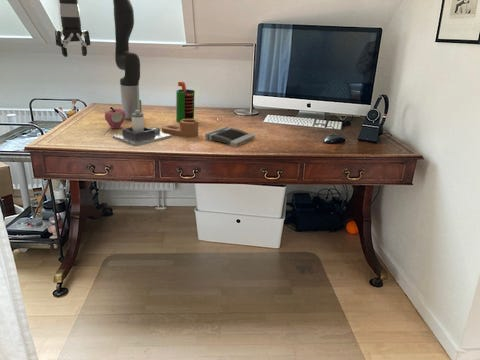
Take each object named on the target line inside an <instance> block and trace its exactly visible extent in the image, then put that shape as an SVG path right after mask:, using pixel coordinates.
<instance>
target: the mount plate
mask: <svg viewBox="0 0 480 360" xmlns="http://www.w3.org/2000/svg"><path fill="white" fill-rule="evenodd" d="M172 136H173V135H170V134H167V133H164V132H162V130H161V129H160V127H158V126H151V127H147V126H144V131H143V132H139V133H135V132H133V131H132V126H130V127H125V128H122V129H121V133H118V134H113V135H112V138H113V139H116V140H118V141H121V142H123V143H126V144H128V145H131V146H134V147H135V146H140V145H144V144H149V143H153V142H157V141H158V142H159V141H162V140H167V139H170V138H172Z"/></svg>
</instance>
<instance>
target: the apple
mask: <svg viewBox="0 0 480 360" xmlns="http://www.w3.org/2000/svg"><path fill="white" fill-rule="evenodd" d="M109 109H110V110H108V111H107V110H106V111H105V112H104V119H105V121H106V122H107V124H108V125H109V127H110V128H111V129H119V128H121V127H122V125H123V123H124V122H125V120H126V119H125V116H126V114H125V111H123V110H122V108H121V109H119V108H118V109H117V108H116V109H114V108H113V106H110V107H109Z"/></svg>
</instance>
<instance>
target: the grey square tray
mask: <svg viewBox="0 0 480 360" xmlns="http://www.w3.org/2000/svg"><path fill="white" fill-rule="evenodd" d="M204 136H205V140H206V141H216V142H220V143H221V142H222V143H224V144H227V145H229V146H230V145H231V146H230V147H234V146H235V147H236V145H237V146H240V144H241V145H243V144H245V143H248V142H250V141H252V140H253V139H255V135H254V134H253V133H248V132H246V131H244V130H241V129H238V128H233V127H229V126H228V125H226V126H223V127H220V128H216V129H213V130H212V131H208V132H206V133H204ZM249 140H250V141H249ZM247 141H248V142H247ZM244 142H245V143H244ZM242 143H243V144H242Z"/></svg>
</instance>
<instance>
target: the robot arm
mask: <svg viewBox="0 0 480 360" xmlns="http://www.w3.org/2000/svg"><path fill="white" fill-rule="evenodd" d="M58 1H59V15H60V21H61V28H62V31H61V30H55V31H54V34H55V35H54V37H55V45H56V46H58V47H60V49H61V54H62V56H63V57H64V58H67V57H68V49H67V45H68V44H69V43H71V42H77V43H79V44H80V46H81V55H82V56H83V57H85V56H87V54H88V49H87V47H88V46H91V39H90V38H91V37H90V31H89V30H82V22H81V15H80V6H79V3H78V2H79V0H58ZM112 3H113V16H114V17H113V20H114V33H115V34H114V35H115V51H114V52H115V56H114V59H115V60H114V61H115V64H116V67H117V68H118V69H119V70H122V71H124V76H123V77H121V78H120V79H119V84H120V85H119V86H120V87H119V88H120V100H121V102H120V103H121V110H123V111H125V114H126V116H125V120H132V113H135V110H140V113H143V110H142V99H141V98H140V78H141V60H140V57H139V56H138V54H137V53H135V52H132V51H130V49H129V48H130V47H129V42H130V41H129V40H130V37H131V34H132V32H133V29H134V25H135V15H134V7H133V4H132V2H131V0H112ZM62 36H63V38H62ZM82 36H83V37H82Z"/></svg>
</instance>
